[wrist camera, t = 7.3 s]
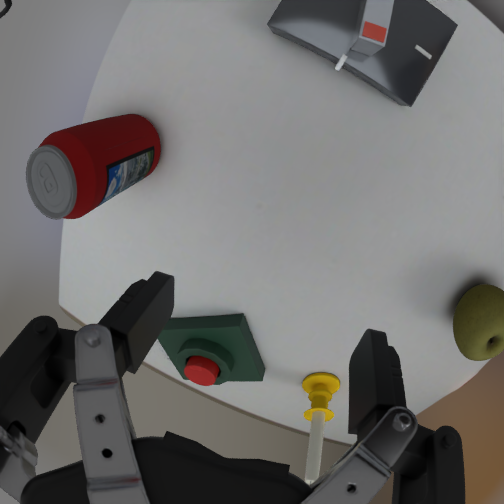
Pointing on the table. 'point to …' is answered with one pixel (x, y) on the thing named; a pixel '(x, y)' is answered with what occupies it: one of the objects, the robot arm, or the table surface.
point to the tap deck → (382, 62)
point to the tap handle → (372, 26)
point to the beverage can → (91, 164)
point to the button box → (214, 346)
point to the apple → (480, 322)
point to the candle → (318, 417)
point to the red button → (201, 370)
